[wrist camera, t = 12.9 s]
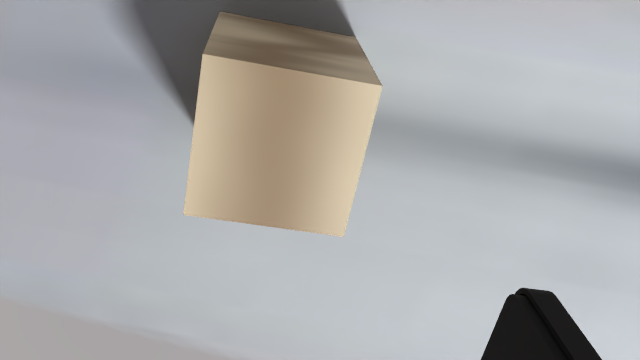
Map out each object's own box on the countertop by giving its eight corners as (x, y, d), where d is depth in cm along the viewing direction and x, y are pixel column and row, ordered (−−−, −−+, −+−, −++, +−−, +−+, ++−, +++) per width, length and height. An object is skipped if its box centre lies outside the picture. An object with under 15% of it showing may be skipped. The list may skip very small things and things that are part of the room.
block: (355, 36, 22) (382, 86, 17) (327, 158, 24) (343, 236, 19) (219, 11, 21) (202, 53, 16) (203, 139, 24) (183, 214, 18)
